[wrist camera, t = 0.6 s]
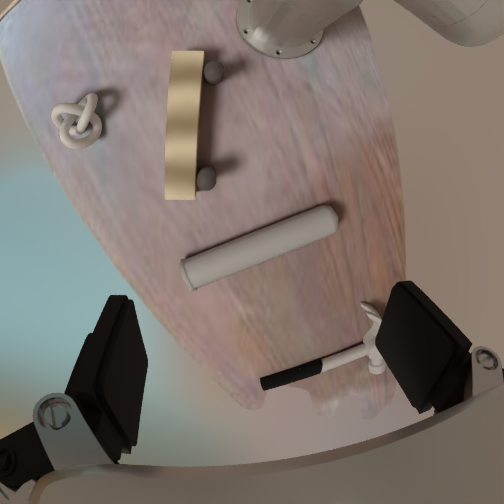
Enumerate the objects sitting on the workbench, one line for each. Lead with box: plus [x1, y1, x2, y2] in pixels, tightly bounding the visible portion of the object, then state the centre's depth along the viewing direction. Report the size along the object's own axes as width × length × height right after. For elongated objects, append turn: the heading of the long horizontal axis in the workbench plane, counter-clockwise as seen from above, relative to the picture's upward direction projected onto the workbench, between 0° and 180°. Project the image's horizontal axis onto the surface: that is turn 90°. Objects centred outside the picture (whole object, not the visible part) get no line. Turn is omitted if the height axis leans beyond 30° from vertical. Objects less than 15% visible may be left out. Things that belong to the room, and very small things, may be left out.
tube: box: [179, 205, 339, 291], centre depth 44 cm, size 5×5×25 cm
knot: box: [51, 93, 102, 149], centre depth 31 cm, size 8×8×6 cm
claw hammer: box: [260, 302, 386, 391], centre depth 58 cm, size 5×22×30 cm
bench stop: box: [165, 51, 224, 200], centre depth 34 cm, size 20×7×6 cm, turn 175°
